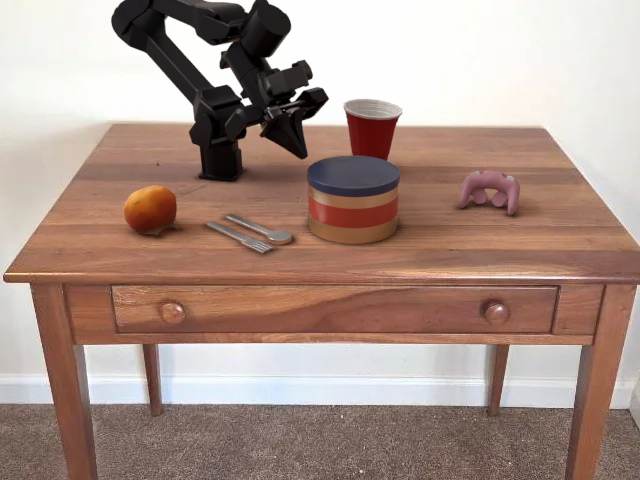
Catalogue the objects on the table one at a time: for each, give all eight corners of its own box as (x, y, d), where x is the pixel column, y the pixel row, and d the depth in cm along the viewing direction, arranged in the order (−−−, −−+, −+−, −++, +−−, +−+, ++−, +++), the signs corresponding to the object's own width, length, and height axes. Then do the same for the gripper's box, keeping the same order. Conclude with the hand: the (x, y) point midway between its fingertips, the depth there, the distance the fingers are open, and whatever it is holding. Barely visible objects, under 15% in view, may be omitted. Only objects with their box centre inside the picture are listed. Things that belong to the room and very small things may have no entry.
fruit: (161, 238, 110) (135, 188, 108) (133, 251, 115) (107, 204, 113) (199, 219, 116) (174, 172, 114) (170, 233, 121) (146, 188, 119)
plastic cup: (394, 182, 135) (398, 116, 128) (336, 177, 136) (336, 111, 130) (403, 162, 144) (407, 99, 137) (349, 157, 145) (349, 95, 139)
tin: (296, 238, 114) (294, 182, 109) (322, 203, 126) (321, 151, 121) (387, 249, 112) (390, 192, 107) (405, 212, 123) (407, 160, 119)
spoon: (219, 220, 119) (219, 216, 119) (237, 214, 122) (236, 209, 121) (279, 247, 112) (278, 242, 111) (296, 239, 114) (296, 234, 114)
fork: (203, 227, 117) (203, 224, 117) (214, 222, 119) (214, 220, 118) (262, 254, 110) (262, 250, 109) (273, 249, 111) (273, 246, 111)
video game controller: (516, 217, 126) (524, 176, 125) (514, 215, 122) (522, 172, 121) (459, 209, 129) (466, 168, 128) (455, 207, 124) (462, 164, 123)
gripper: (231, 53, 108) (286, 145, 108) (320, 35, 120) (370, 118, 120) (202, 97, 117) (253, 182, 117) (288, 76, 129) (334, 154, 128)
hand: (305, 158), depth 120 cm, fingers closed
